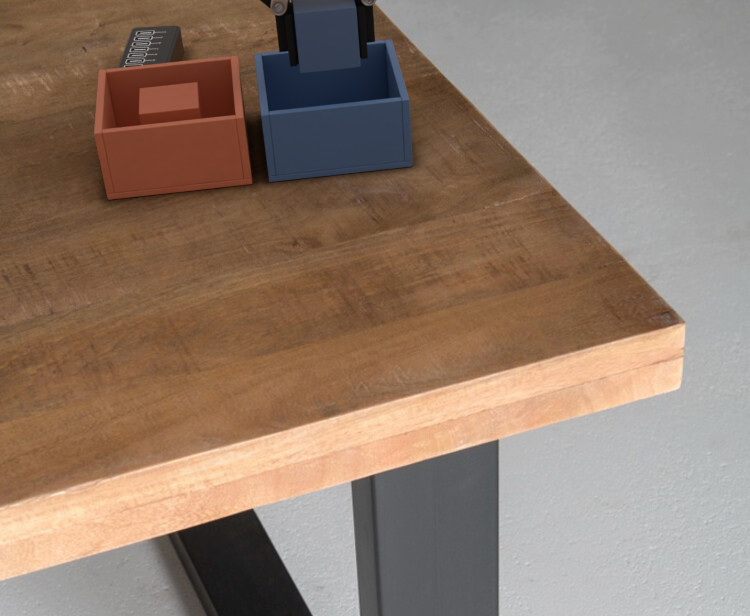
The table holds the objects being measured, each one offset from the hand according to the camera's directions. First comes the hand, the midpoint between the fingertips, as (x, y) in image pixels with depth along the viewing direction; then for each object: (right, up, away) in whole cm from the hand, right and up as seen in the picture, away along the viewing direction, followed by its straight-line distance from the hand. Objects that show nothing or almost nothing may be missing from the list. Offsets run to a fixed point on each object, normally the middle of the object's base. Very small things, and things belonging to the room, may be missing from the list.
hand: (327, 52), depth 109 cm
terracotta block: (-12, -6, +4) cm, 14 cm away
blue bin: (0, -5, +5) cm, 7 cm away
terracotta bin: (-12, -7, +4) cm, 15 cm away
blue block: (0, 0, 0) cm, 0 cm away
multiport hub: (-16, +2, +15) cm, 22 cm away
